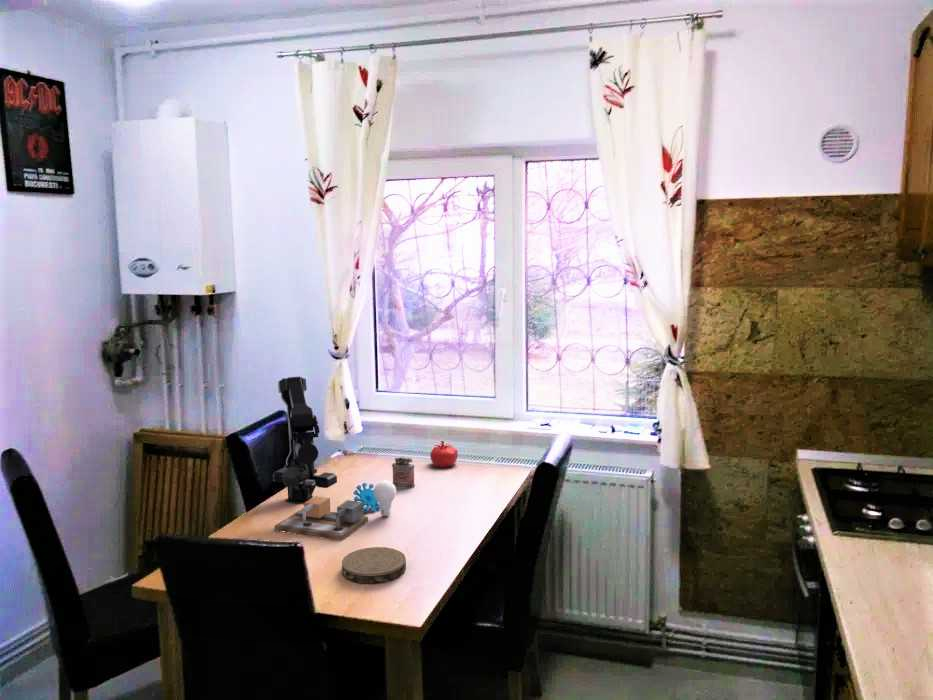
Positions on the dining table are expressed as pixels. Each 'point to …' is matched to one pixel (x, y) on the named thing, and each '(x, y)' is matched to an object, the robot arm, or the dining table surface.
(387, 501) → the light bulb
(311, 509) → the sliding jaw
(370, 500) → the gear
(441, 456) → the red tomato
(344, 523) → the base
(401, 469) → the flat bottle
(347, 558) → the brown round disc
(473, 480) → the dining table surface
